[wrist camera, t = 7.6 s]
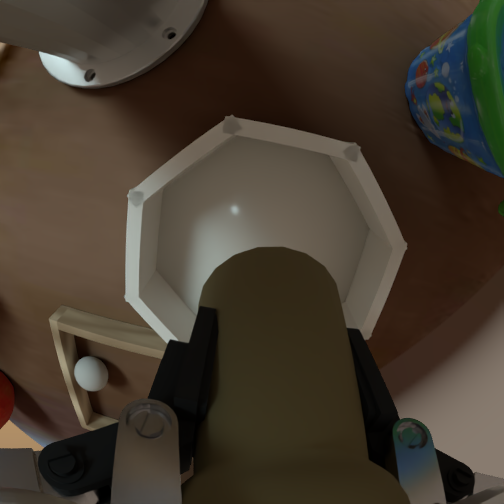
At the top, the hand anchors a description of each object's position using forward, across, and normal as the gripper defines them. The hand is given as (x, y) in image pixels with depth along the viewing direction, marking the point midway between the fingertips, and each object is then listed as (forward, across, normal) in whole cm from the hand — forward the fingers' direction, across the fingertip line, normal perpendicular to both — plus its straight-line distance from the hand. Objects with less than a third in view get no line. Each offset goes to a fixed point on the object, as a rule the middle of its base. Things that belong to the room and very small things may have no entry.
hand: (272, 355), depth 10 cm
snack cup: (+10, -10, -13) cm, 20 cm away
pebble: (+8, +12, +12) cm, 19 cm away
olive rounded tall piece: (+3, 0, 0) cm, 3 cm away
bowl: (+10, 0, 0) cm, 10 cm away
